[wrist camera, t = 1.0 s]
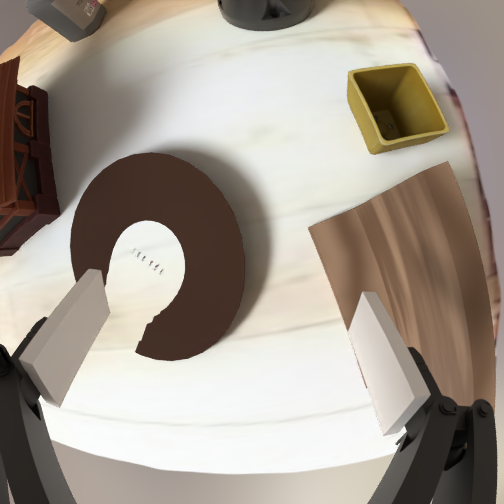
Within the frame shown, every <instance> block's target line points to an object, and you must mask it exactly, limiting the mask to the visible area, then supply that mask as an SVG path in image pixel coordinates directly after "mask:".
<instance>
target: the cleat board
mask: <svg viewBox="0 0 504 504" xmlns="http://www.w3.org/2000/svg"><path fill="white" fill-rule="evenodd" d="M308 230H309V232H310V235H311V237H312V239H313V242H314V244H315V247H316V249H317V252H318V254H319V257H320V259H321V262H322V264H323V267H324V269H325V272H326V274H327V277H328V280H329V282H330V285H331V288H332V290H333V293H334V296H335V298H336V301H337V304H338V306H339V309H340V312H341V315H342V317H343V320H344V323H345V326H346V329H347V332H348V331H349V328H350V325H351V323H352V320H353V317H354V314H355V312H356V309H357V306H358V303H359V300H360V297H361V294H362V292H376V294H377V295H378V297H379V299H380V300H381V302H382V304H383V306H384V307H385V309H386V311H387V312H388V314H389V316H390V318H391V319H392V321H393V323H394V325H395V326H396V328H397V330H398V332H399V334H400V335H401V337H402V339H403V341H404V343H405V345H406V346H407V347H414V348H415V349H416V350H417V351H418V352H419V353H420V354H421V355H422V357H423V359H424V361H425V364H426V365H427V366H428V368H429V371H430V372H431V374H432V376H433V378H434V380H435V382H436V384H437V386H438V388H439V390H440V392H441V394H442V395H443V396H447V397H450V398H452V399H453V400H454V401H455V402H456V403H457V405H459V406H471V405H472V404H473V403H474V401H476V400H477V399H484V400H486V401H488V402H489V403H490V404H491V406H492V407H493V411H494V410H495V388H496V368H495V346H494V333H493V323H492V315H491V308H490V301H489V295H488V289H487V284H486V279H485V274H484V269H483V265H482V260H481V256H480V252H479V248H478V244H477V241H476V237H475V234H474V230H473V227H472V224H471V220H470V217H469V214H468V211H467V208H466V205H465V203H464V200H463V197H462V194H461V192H460V189H459V186H458V184H457V181H456V179H455V176H454V174H453V172H452V169H451V167H450V165H449V162H448V161H447V162H444V163H442V164H439V165H437V166H434V167H432V168H429V169H427V170H424V171H422V172H420V173H418V174H416V175H415V176H413V177H411V178H409V179H407V180H405V181H404V182H402V183H400V184H398V185H396V186H395V187H393V188H391V189H389V190H387V191H385V192H384V193H382V194H380V195H378V196H376V197H374V198H373V199H371V200H369V201H367V202H365V203H363V204H361V205H360V206H358V207H356V208H354V209H351V210H349V211H347V212H344V213H342V214H339V215H337V216H335V217H332V218H330V219H327V220H325V221H323V222H320V223H318V224H315V225H313V226H311V227H308ZM353 349H354V348H353ZM354 352H355V351H354ZM355 355H356V354H355ZM356 358H357V357H356ZM357 361H358V359H357ZM358 364H359V362H358ZM359 367H360V365H359ZM360 371H361V368H360ZM361 374H362V371H361ZM362 377H363V380H364V383H365V386H366V388H367V385H366V382H365V379H364V376H363V374H362ZM466 448H467V444H466Z"/></svg>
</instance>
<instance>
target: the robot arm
mask: <svg viewBox="0 0 504 504" xmlns="http://www.w3.org/2000/svg"><path fill="white" fill-rule="evenodd" d="M218 6H219V9H220V11H221V14H222V16H223V18H224V19H225V20H226V21H227V22H229V23H230V24H232V25H234V26H236V27H239V28H242V29H247V30H254V31H270V30H278V29H283V28H287V27H290V26H293V25H295V24H297V23H299V22H301V21H303V20H304V19H305V18H306V17H308V16H309V14H310V13H311V12H312V10H313V6H314V0H218ZM109 314H110V310H109V306H108V302H107V297H106V293H105V288H104V283H103V278H102V273H101V270H95V269H88V270H87V271H86V273H85V274H84V275H83V276H82V277H81V278H80V279H79V281H78V282H77V283H76V284H75V285H74V286H73V288H72V289H71V290H70V291H69V292H68V294H67V295H66V296H65V297H64V299H63V300H62V301H61V302H60V303H59V305H58V306H57V307H56V308H55V310H54V311H53V312H52V314H51V315H50V316H49V317H48V318H47V317H43V318H42V319H41V320H39V321H38V322H36V324H35V325H34V326H33V327H32V329H31V330H30V332H29V333H28V334H27V335H26V338H24V339H23V341H22V342H21V344H20V345H19V346H18V348H17V349H16V351H15V352H14V353H13V355H12V356H11V357H10V355H9V353H8V351H7V350H6V348H5V347H4V346H3V345H2V344H0V504H10V501H9V493H8V484H7V480H8V483H9V487H10V490H11V493H12V496H13V499H14V502H15V504H77V503H76V502H75V499H74V497H73V495H72V493H71V491H70V489H69V487H68V484H67V482H66V480H65V477H64V475H63V473H62V470H61V468H60V465H59V462H58V460H57V457H56V455H55V452H54V449H53V446H52V443H51V440H50V437H49V433H48V430H47V427H46V423H45V420H44V416H43V412H42V408H41V404H40V402H39V400H38V399H39V397H40V395H41V396H42V397H43V399H44V400H45V401H46V403H49V404H51V405H54V406H56V407H59V408H60V406H61V404H62V402H63V400H64V398H65V396H66V394H67V392H68V390H69V387H70V385H71V383H72V381H73V379H74V378H75V376H76V374H77V372H78V370H79V368H80V366H81V364H82V362H83V360H84V358H85V357H86V355H87V353H88V351H89V349H90V347H91V346H92V344H93V342H94V340H95V338H96V337H97V335H98V333H99V331H100V330H101V328H102V326H103V324H104V323H105V321H106V319H107V318H108V316H109ZM348 335H349V338H350V340H351V343H352V346H353V348H354V351H355V354H356V357H357V359H358V362H359V365H360V368H361V371H362V374H363V376H364V379H365V382H366V385H367V388H368V391H369V394H370V397H371V400H372V403H373V406H374V409H375V412H376V416H377V419H378V422H379V425H380V428H381V432H382V435H383V436H385V435H390V434H395V433H398V432H399V431H400V430H401V429H402V428H403V427H404V426H405V427H406V430H407V432H406V433H405V434H404V435H403V436H402V437H401V438H400V439H399V440H398V441H397V443H396V445H398V444H399V443H400V442H401V443H400V445H399V447H398V449H397V451H396V453H395V455H394V457H393V459H392V461H391V463H390V465H389V467H388V469H387V471H386V473H385V475H384V477H383V478H382V480H381V482H380V484H379V485H378V487H377V489H376V491H375V492H374V494H373V496H372V497H371V499H370V500H369V502H368V504H430V503H431V500H432V498H433V501H432V504H496V493H497V492H496V491H497V441H496V428H495V418H494V411H493V407H492V406H491V404H490V403H489V402H488V401H486V400H484V399H477V400H476V401H474V403H473V404H472V405H471V406H459V405H457V403H456V402H455V401H454V400H453V399H452V398H450V397H447V396H443V395H442V394H441V392H440V390H439V388H438V386H437V384H436V382H435V380H434V378H433V376H432V374H431V372H430V371H429V368H428V366H427V365H426V364H425V361H424V359H423V357H422V355H421V354H420V353H419V352H418V351H417V350H416V349H415V348H414V347H407V346H406V345H405V343H404V341H403V339H402V337H401V335H400V334H399V332H398V330H397V328H396V326H395V325H394V323H393V321H392V319H391V318H390V316H389V314H388V312H387V311H386V309H385V307H384V306H383V304H382V302H381V300H380V299H379V297H378V295H377V294H376V292H362V294H361V297H360V300H359V303H358V306H357V309H356V312H355V314H354V317H353V320H352V323H351V325H350V328H349V331H348ZM466 444H467V448H466Z"/></svg>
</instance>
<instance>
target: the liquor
mask: <svg viewBox="0 0 504 504" xmlns="http://www.w3.org/2000/svg"><path fill="white" fill-rule="evenodd" d="M26 8H27V9H28V11H29V13H31V14H33V15H34V16H35V17H37V18H38V19H40V20H41V21H43V22H44V23H45V24H47V25H48V26H50V27H51V28H52V29H54V30H55V31H57V32H58V33H59V34H61V35H62V36H64V37H65V38H66V39H68V40H69V41H70V42H76V41H78V40H81V39H83V38H85V37H87V36H90V35H91V34H92V33H93V32H94V31H95V30H96V29H97V28H99V26H100V24H101V22H102V20H103V18H104V15H105V13H106V9H105V8H104V7H103V6H102V5H101V4H100V3H99V2H98V1H97V0H26Z"/></svg>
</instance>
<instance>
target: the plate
mask: <svg viewBox="0 0 504 504" xmlns="http://www.w3.org/2000/svg"><path fill="white" fill-rule="evenodd" d="M145 220H148V221H155V222H159V223H161V224H163V225H165V226H166V227H167V228H169V229H170V230H171V231H172V232H173V233H174V235H175V236H176V237H177V239H178V241H179V242H180V244H181V247H182V250H183V253H184V258H185V274H184V279H183V282H182V285H181V288H180V290H179V291H178V294H177V295H176V296H175V298H174V299H173V301H172V302H171V303H170V304H169V305H168V306H167V308H165V309H164V310H162V311H161V312H160V314H158V315H156V316H154V318H153V321H152V322H151V323H149V324H147V326H146V329H145V331H144V334H143V337H142V340H141V341H139V343H138V346H137V348H136V351H135V352H136V353H138V354H140V355H142V356H145V357H149V358H152V359H155V360H165V361H175V360H182V359H188V358H191V357H193V356H195V355H198V354H200V353H203V352H204V351H206V350H207V349H208V348H210V347H211V346H212V345H214V344H215V343H216V342H217V341H218V340H219V339H220V338H221V336H222V335H223V334H224V333H225V332H226V330H227V329H228V328H229V326H230V324H231V322H232V320H233V318H234V316H235V314H236V312H237V310H238V308H239V304H240V300H241V296H242V292H243V288H244V274H245V258H244V251H243V244H242V237H241V234H240V231H239V228H238V225H237V222H236V220H235V217H234V214H233V212H232V210H231V208H230V207H229V205H228V203H227V201H226V200H225V198H224V196H223V195H222V193H221V191H220V190H219V189H218V188H217V187H216V186H215V185H214V184H213V182H212V181H211V180H210V179H209V178H208V177H207V176H206V175H205V174H204V173H202V172H201V171H200V170H198V169H197V168H195V167H194V166H193V165H191V164H190V163H188V162H186V161H183V160H181V159H179V158H176V157H174V156H171V155H166V154H159V153H152V152H151V153H141V154H133V155H130V156H128V157H125V158H122V159H119V160H117V161H116V162H114V163H112V164H111V165H109V166H108V167H106V168H105V169H103V170H102V171H101V172H100V173H99V174H98V175H97V176H96V177H95V178H94V179H93V180H92V181H91V183H90V184H89V186H88V187H87V189H86V190H85V192H84V193H83V195H82V197H81V199H80V202H79V204H78V206H77V209H76V211H75V215H74V219H73V224H72V228H71V241H70V250H71V262H72V267H73V272H74V276H75V280H76V283H77V282H78V281H79V279H80V278H81V277H82V276H83V275H84V274H85V273H86V271H87V270H88V269H95V270H101V273H102V278H103V283H104V288H105V285H106V279H107V274H108V271H109V264H110V259H111V255H112V251H113V248H114V246H115V244H116V242H117V240H118V238H119V237H120V235H121V234H122V232H123V231H124V230H125V229H126V228H128V227H129V226H131V225H132V224H134V223H137V222H139V221H145ZM133 251H134V250H133ZM133 251H132V253H133ZM139 253H140V252H139ZM138 255H139V254H138ZM137 257H138V256H137ZM144 257H145V256H144ZM143 259H144V258H143ZM143 259H142V262H143ZM151 262H152V261H151ZM151 262H150V263H151ZM149 266H150V264H149ZM155 268H156V267H155ZM154 271H155V269H154ZM161 271H162V270H161ZM160 273H161V272H160Z"/></svg>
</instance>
